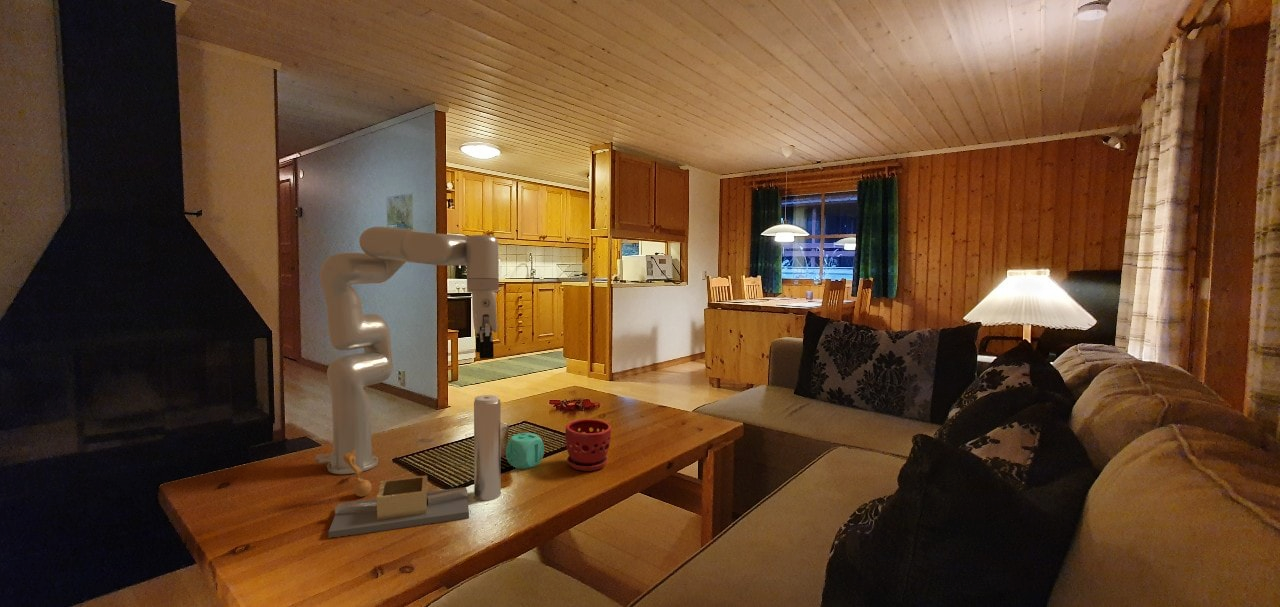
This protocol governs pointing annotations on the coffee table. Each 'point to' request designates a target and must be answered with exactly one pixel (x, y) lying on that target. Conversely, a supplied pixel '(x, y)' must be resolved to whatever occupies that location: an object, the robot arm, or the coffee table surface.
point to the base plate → (369, 523)
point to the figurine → (357, 476)
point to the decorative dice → (524, 450)
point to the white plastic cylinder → (487, 447)
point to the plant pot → (587, 444)
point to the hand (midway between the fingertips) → (484, 355)
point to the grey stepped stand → (401, 499)
